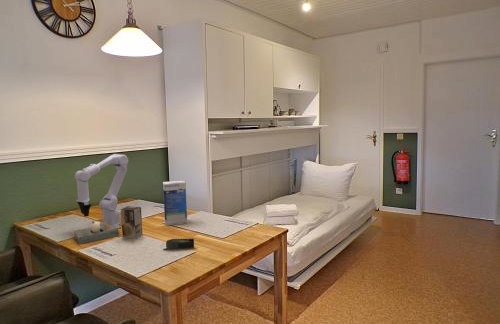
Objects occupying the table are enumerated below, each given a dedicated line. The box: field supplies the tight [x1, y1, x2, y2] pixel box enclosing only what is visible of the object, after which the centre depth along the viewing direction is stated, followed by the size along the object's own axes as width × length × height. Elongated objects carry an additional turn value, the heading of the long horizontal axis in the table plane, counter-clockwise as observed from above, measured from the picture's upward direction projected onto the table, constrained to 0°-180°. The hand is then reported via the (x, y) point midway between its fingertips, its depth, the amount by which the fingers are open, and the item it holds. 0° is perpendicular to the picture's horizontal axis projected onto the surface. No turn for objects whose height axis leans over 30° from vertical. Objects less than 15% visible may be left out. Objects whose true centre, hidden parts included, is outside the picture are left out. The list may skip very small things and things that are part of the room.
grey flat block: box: [73, 224, 120, 245], centre depth 190 cm, size 20×14×4 cm
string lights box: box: [162, 180, 188, 226], centre depth 211 cm, size 13×8×26 cm, turn 108°
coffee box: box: [120, 205, 143, 240], centre depth 188 cm, size 9×6×16 cm
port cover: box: [102, 222, 122, 231], centre depth 193 cm, size 8×8×3 cm
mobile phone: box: [163, 238, 195, 251], centre depth 170 cm, size 5×3×15 cm
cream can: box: [91, 220, 101, 234], centre depth 188 cm, size 4×4×7 cm
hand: (85, 214), depth 197 cm, fingers open, 7 cm apart
